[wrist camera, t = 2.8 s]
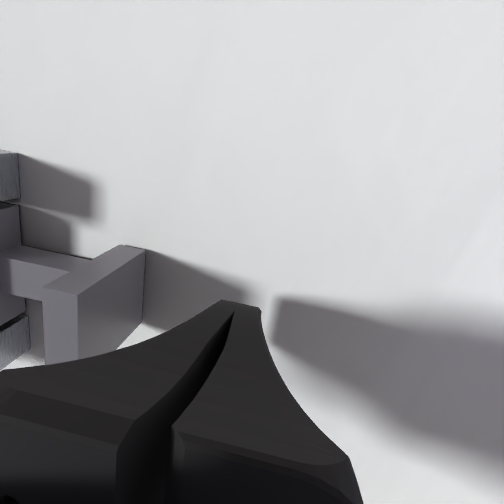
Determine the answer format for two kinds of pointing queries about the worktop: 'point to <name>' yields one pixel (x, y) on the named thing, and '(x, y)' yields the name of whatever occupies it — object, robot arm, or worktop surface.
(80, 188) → the worktop surface
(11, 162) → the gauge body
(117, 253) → the grey hook
